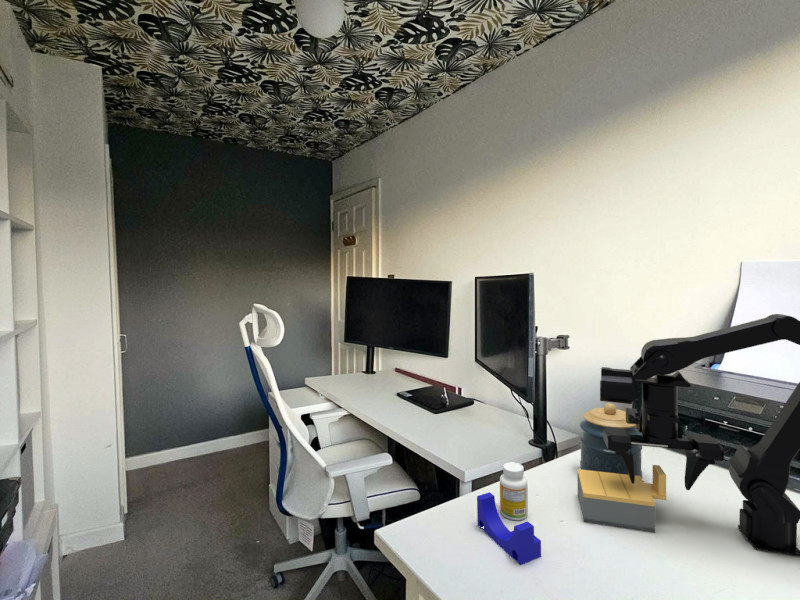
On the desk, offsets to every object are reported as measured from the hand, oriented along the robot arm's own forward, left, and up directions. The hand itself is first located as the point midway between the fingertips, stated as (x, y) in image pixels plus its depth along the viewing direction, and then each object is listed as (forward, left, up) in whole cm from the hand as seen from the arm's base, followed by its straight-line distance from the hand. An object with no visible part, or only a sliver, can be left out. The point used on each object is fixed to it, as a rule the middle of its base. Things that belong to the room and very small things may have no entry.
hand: (659, 485), depth 76 cm
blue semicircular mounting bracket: (+28, +14, -7) cm, 32 cm away
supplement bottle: (+27, +5, -7) cm, 28 cm away
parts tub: (+8, 0, -7) cm, 10 cm away
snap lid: (+7, 0, -3) cm, 7 cm away
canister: (+6, -16, -7) cm, 18 cm away
